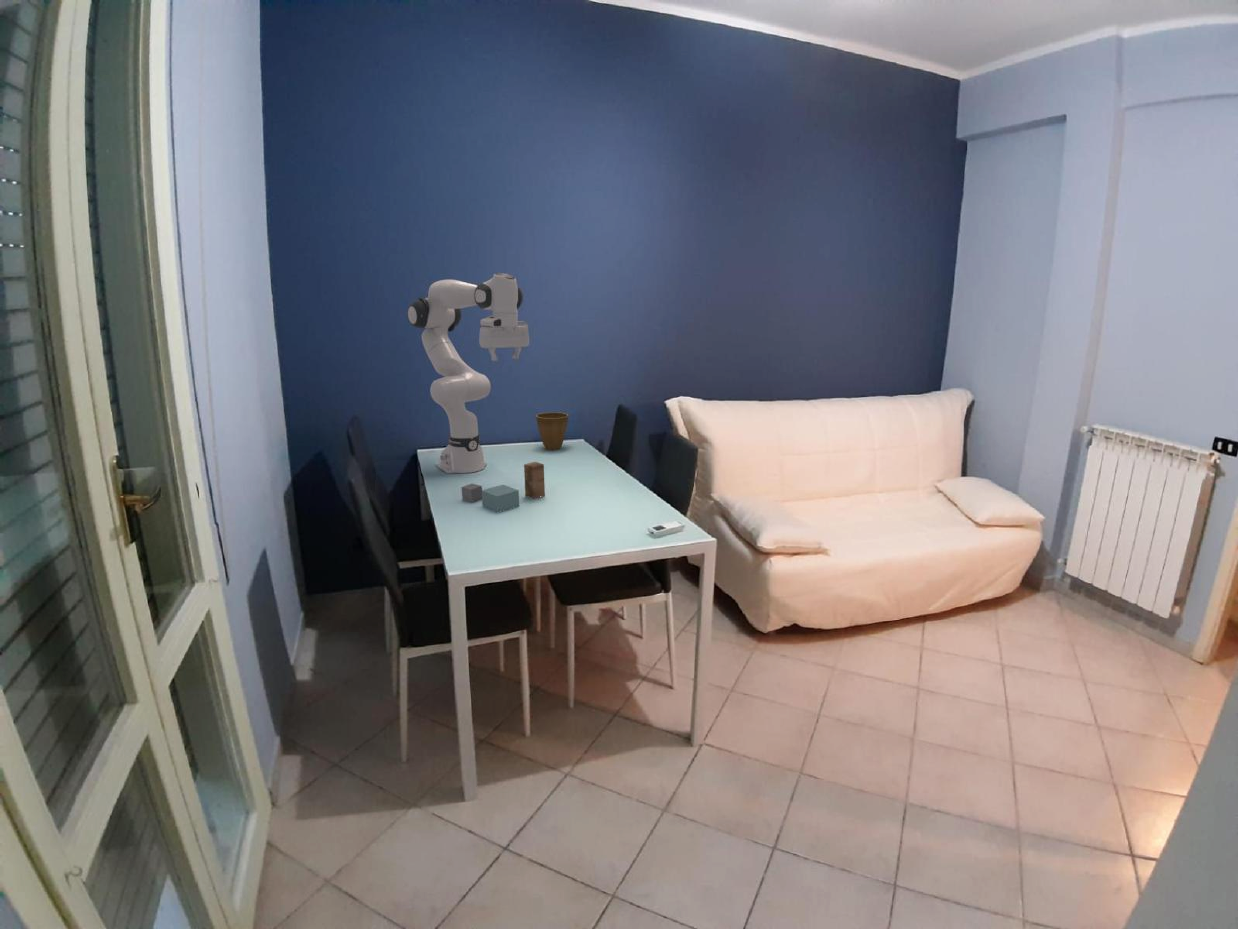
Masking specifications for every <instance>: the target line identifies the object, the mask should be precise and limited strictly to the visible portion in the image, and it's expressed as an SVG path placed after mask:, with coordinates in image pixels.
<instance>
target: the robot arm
mask: <svg viewBox="0 0 1238 929" xmlns="http://www.w3.org/2000/svg"><path fill="white" fill-rule="evenodd" d="M427 294H428V296H427V297H425V298H424V297H422V296H421V297H419V298H418V299H417V300H415V301H413V302H412V303H410V305H409V306H408V308H407V310H406V311H407V319H408V322H409V323H410V325H411V326H412V327H414V328H416V329H425V330H423V331H422V333H421V341H422V346H423V348H424V351H425V353H426V354H427V357H428V359H429V360H430V362H431V364H432V366H433V368H434V370H435V371H436V372H437V373H438V374H439V375H440V376H442V377H440V378H438V379H435V380H432V383H431V384H430V388H429V389H430V390H429V392H430V396H431V398H432V400H433V401H434V402H435V403H436V404H438V405H439V406H441V408H442V409H443V410H444V411H445V413H446V415H447V417H448V423H449V432H450V433H449V434H450V435H448V436H447V440H448V445H446V447H445V448H444V449H443V450H441V453H440V460H439V461H436V462H435V466H436V467H437V468H438V469H440V470H441V471H444V472H445V473H447V474H455V473H456V474H458V473H459V474H466V473H468V474H469V473H475V472H479V471H481V470H483V469H484V468H485V466H487V461H485V459H484V451H483V447H482V445H480V443H481V437H480V434H479V425H478V424H479V423H478V417H477V415H476V414H475V413H473V412H471V411H469V410H467V407H466V403H467V402H468V403H469V402H474V401H479V400H482V399H485V398H487V397H488V396H489V395H490V393H491V388H492V387H491V381H490V380H489V378H488V377H487V376H486V375H485V374H483V373H480V372H478V371H476V370H475V369H474V368H472V367H470V366H469V365H468V364H467V363H466V362H465V361H464V360H463V359H462V358H461V356H460V355H459V353H458V352H457V349H456V348H455V346H454V344H453V342H452V341H451V339H450V337H449V334H448V333H449V332H453V331H455V328H456V327H457V326H458V325H459V324H460V321H461V319H462V309H464V308H468V307H469V308H471V307H476V306H477V307H478V308H479V309H480V310H481V309H482V310H485V311H486V310H487V311H492V315H489V316H487V317H484V318H482V319H480V326H481V327H480V328H479V333H478V334H479V335H478V339H479V340H478V341H479V342H478V343H479V346H480V347H481V348H483V349H488V352H489V354H490V356H491V361H493V362H496V361H498V360H499V357H498V355H497V354H496V349H497V348H499V349H500V348H501V349H503V348H514V350H515V351H514V353H513V354H512V355H511V356H512V360H519V357H520V356H519V355H520V353H521V351H522V347H523V348H524V347H525V348H527V347H529V345H530V333H529V324H528V323H527V322H526V321H524V320H519V319H518V318H519V311H518V310H519V308H520V307H521V306H522V304H523V301H524V295H523V294H524V293H523V291H522V289H521V288H520V286H519V285H518V282H517V279H516V276H514V275H513V274H510V273H502V272H496V273H494V274H493V276H492V278H490V279H489V280H486V281H484V282H480V283H478V285H477V284H473V283H469V282H465V281H461V280H458V279H441V280H438V281H434V282H433V283H431V284H430V286H429V289H428V291H427Z"/></svg>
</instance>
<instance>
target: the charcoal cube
mask: <svg viewBox="0 0 1238 929" xmlns="http://www.w3.org/2000/svg"><path fill="white" fill-rule="evenodd" d="M482 490H483V485H479V484H475V483H469V484H467V485H466V484H465V485H464V486H461V497H462V498H461V500H462V501H464V500H465V502H467V501H468V502H469V503H471V504H472V503H473V504H474V503H476V502H478V501H477V500H479V501H482ZM475 501H476V502H475ZM468 502H467V503H468Z"/></svg>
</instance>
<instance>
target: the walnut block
mask: <svg viewBox="0 0 1238 929" xmlns="http://www.w3.org/2000/svg"><path fill="white" fill-rule="evenodd" d="M523 468H524V469H523V470H524V471H523V472H524V474H523V475H524V495H525V497H527V496H529V497H531V498H530V499H532V498H533V500H536V499H535V498H537V499H539V498H538V497H540V496H543V497H545V496H546V491H545V489H546V488H545V464H543V463H540V462H537V461H532V462H529V463H524V464H523ZM529 497H528V498H529ZM540 498H541V497H540Z"/></svg>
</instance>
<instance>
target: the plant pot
mask: <svg viewBox="0 0 1238 929" xmlns="http://www.w3.org/2000/svg"><path fill="white" fill-rule="evenodd" d="M535 418H536V423H537V428H538V432H539V435H540V439H541V442H542V444H543V447H544V449H545V450H546V451H558V449H559V450H561V449H562V447H563V446H562V445H563V444H564V440H565V436H566V431H567V428H568V420H569V414H568V413H565V412H541V413H538V414H536V415H535Z"/></svg>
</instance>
